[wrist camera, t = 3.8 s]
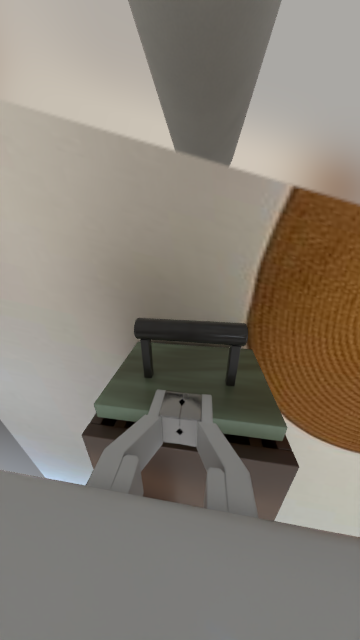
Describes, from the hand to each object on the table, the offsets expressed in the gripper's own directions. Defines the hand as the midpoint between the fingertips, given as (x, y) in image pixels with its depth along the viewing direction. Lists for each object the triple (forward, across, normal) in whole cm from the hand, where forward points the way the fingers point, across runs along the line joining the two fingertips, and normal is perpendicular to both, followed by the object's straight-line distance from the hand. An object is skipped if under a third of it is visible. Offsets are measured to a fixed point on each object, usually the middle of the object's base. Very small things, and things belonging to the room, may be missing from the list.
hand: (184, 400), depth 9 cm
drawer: (+8, 0, +6) cm, 10 cm away
